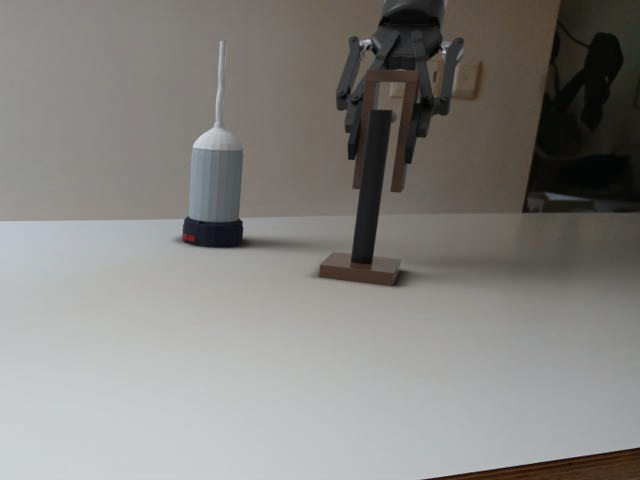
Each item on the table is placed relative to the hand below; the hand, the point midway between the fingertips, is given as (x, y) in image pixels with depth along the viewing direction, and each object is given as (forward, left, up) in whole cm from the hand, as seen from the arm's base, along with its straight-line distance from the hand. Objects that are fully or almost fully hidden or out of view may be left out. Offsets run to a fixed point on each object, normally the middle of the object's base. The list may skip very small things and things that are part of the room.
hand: (379, 153), depth 84 cm
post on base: (0, +1, -13) cm, 13 cm away
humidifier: (+21, -5, -13) cm, 25 cm away
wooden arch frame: (0, -4, -4) cm, 6 cm away
